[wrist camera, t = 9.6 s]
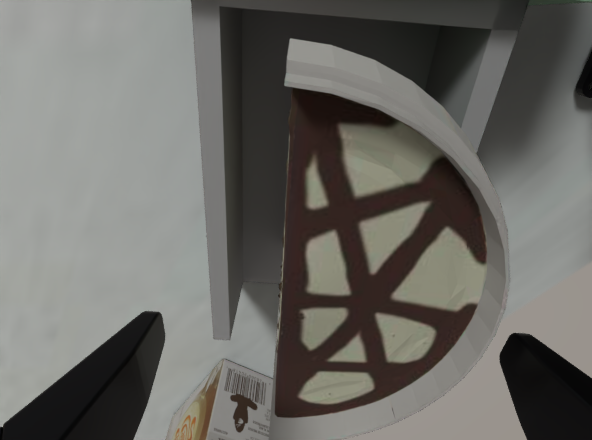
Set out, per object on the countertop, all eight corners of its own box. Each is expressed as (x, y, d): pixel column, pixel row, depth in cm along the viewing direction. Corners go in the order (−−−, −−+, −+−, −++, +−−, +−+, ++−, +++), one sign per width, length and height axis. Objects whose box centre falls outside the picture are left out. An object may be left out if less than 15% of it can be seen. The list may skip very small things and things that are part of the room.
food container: (386, 274, 21) (448, 462, 12) (282, 268, 20) (267, 453, 12) (445, 38, 14) (663, 72, 6) (295, 27, 14) (285, 45, 6)
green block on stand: (554, -211, 11) (771, -405, 6) (405, 285, 22) (438, 370, 17) (179, -250, 11) (70, -486, 6) (211, 272, 21) (182, 354, 16)
